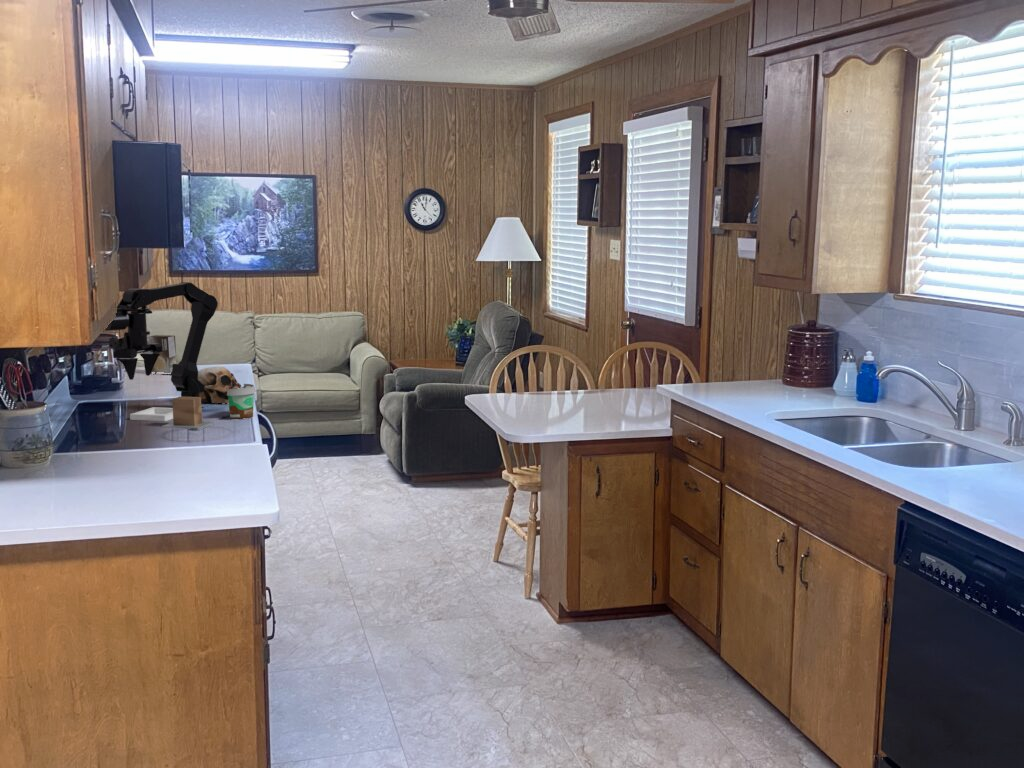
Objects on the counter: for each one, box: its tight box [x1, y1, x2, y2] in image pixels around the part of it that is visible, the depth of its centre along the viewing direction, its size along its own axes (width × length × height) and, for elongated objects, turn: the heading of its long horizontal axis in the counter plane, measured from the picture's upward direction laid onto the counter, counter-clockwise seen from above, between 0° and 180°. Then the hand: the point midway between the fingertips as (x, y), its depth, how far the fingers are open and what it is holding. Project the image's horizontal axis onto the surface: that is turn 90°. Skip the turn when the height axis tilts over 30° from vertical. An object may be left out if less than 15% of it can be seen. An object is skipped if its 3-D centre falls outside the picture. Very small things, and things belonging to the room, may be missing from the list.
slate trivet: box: [161, 420, 215, 431], centre depth 301 cm, size 10×12×1 cm
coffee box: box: [148, 334, 178, 373], centre depth 413 cm, size 9×6×16 cm
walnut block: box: [171, 395, 203, 426], centre depth 300 cm, size 4×7×8 cm, turn 78°
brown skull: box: [198, 366, 242, 405], centre depth 345 cm, size 16×17×13 cm
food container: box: [227, 383, 257, 420], centre depth 316 cm, size 12×6×10 cm, turn 168°
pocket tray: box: [129, 406, 173, 422], centre depth 314 cm, size 13×12×2 cm
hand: (139, 377), depth 313 cm, fingers open, 9 cm apart
